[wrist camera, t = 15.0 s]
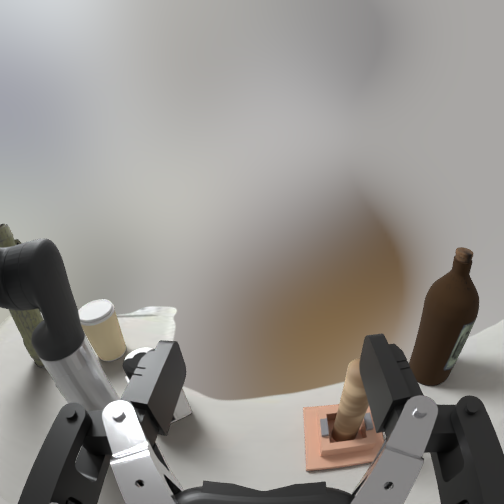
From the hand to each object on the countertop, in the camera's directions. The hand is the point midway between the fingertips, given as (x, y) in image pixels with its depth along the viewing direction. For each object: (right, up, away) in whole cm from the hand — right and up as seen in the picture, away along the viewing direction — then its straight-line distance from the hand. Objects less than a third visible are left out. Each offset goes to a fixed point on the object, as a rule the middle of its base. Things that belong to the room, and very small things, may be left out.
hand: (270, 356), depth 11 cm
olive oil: (+34, -19, +30) cm, 49 cm away
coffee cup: (-34, -19, +45) cm, 60 cm away
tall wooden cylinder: (+13, -23, +22) cm, 34 cm away
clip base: (+13, -24, +22) cm, 35 cm away
